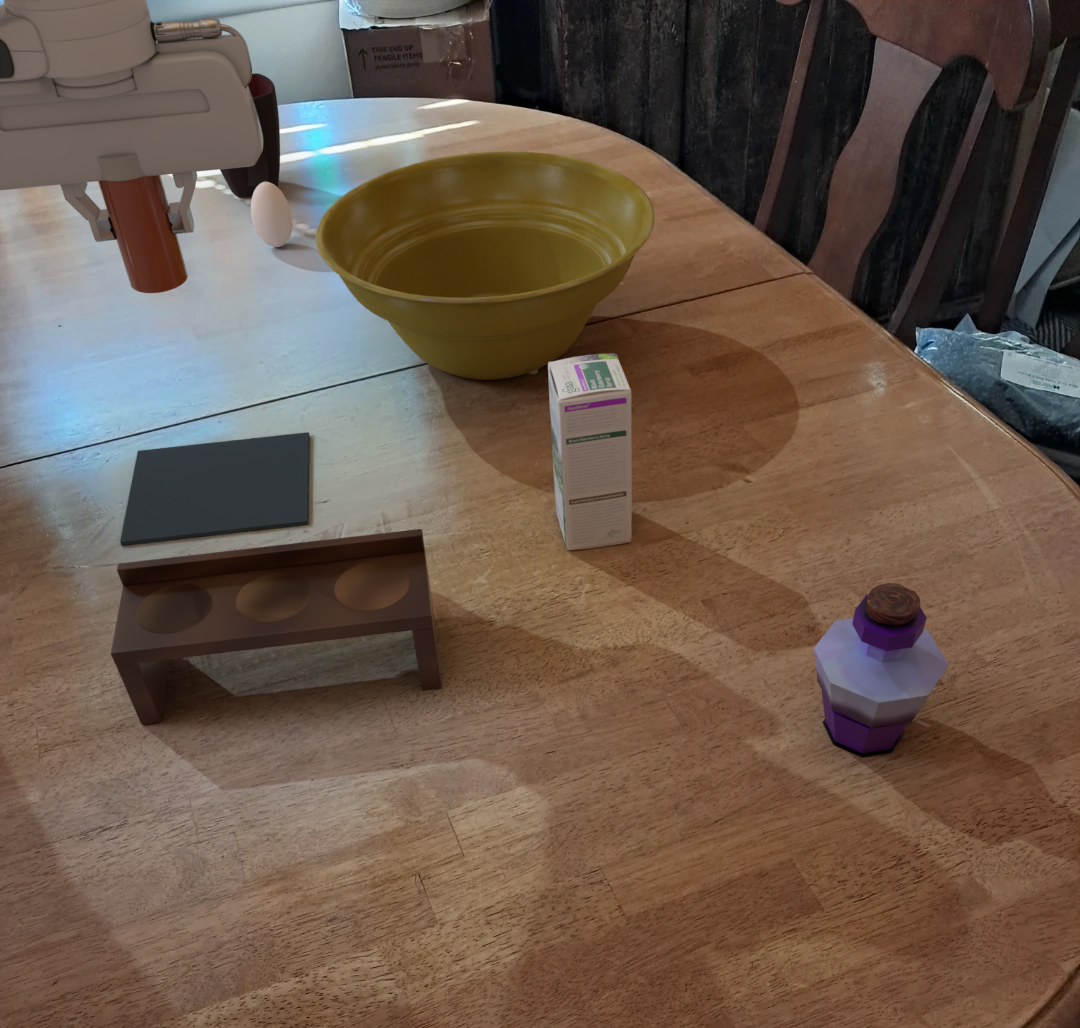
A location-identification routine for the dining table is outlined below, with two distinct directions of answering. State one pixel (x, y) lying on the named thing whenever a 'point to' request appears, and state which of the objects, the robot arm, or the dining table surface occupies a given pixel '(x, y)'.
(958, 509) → the dining table surface
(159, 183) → the shaker
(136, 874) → the dining table surface
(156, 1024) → the dining table surface
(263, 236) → the egg
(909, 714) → the potion bottle
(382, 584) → the spice shelf
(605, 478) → the syrup box
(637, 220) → the planter bowl
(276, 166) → the cup
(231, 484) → the mat
